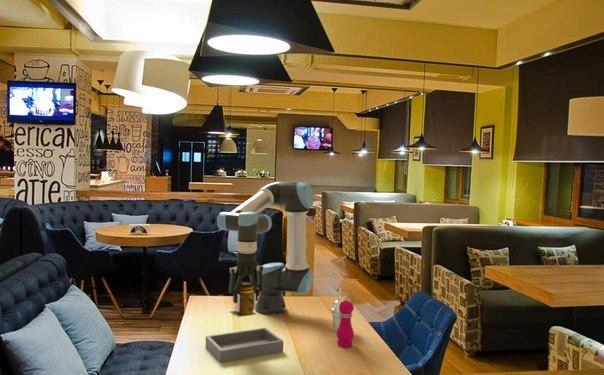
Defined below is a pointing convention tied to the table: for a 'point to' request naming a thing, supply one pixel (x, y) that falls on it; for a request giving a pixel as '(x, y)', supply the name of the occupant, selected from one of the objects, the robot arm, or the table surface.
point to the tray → (243, 344)
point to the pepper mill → (345, 324)
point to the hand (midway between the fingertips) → (245, 309)
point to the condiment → (245, 300)
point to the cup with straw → (336, 312)
